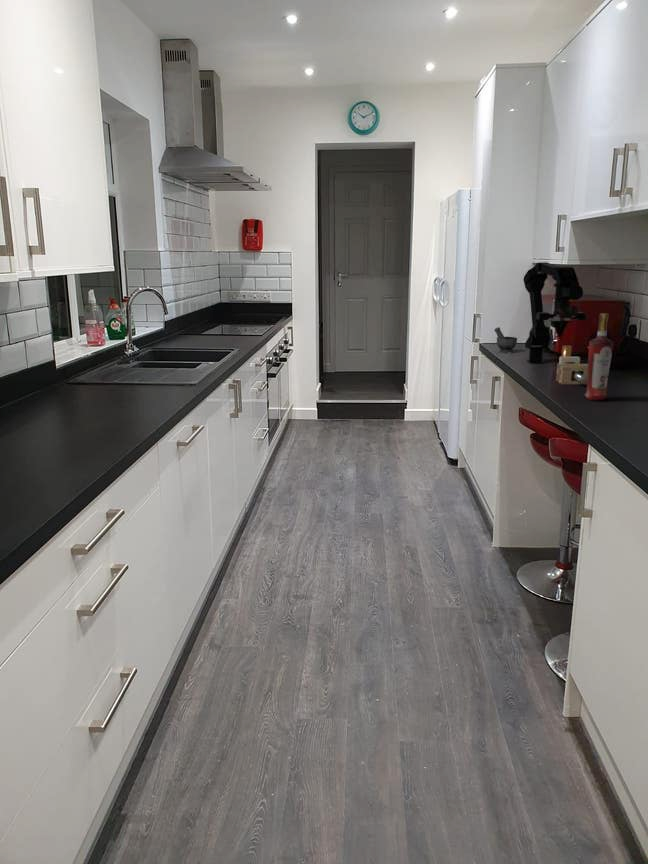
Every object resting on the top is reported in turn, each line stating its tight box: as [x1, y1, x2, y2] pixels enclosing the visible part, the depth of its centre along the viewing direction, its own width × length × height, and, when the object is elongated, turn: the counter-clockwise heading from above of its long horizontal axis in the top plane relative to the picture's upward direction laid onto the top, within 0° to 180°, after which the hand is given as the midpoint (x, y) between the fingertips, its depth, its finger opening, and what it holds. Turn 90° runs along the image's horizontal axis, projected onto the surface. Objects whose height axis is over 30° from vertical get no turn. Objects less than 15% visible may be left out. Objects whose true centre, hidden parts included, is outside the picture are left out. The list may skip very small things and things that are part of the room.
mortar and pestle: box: [494, 326, 518, 354], centre depth 322 cm, size 11×9×12 cm
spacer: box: [558, 356, 581, 378], centre depth 255 cm, size 3×7×8 cm, turn 87°
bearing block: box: [555, 363, 588, 385], centre depth 248 cm, size 7×11×6 cm, turn 87°
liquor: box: [584, 312, 614, 402], centre depth 217 cm, size 7×7×28 cm
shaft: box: [560, 344, 586, 383], centre depth 249 cm, size 23×6×12 cm, turn 177°
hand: (559, 337), depth 273 cm, fingers closed
